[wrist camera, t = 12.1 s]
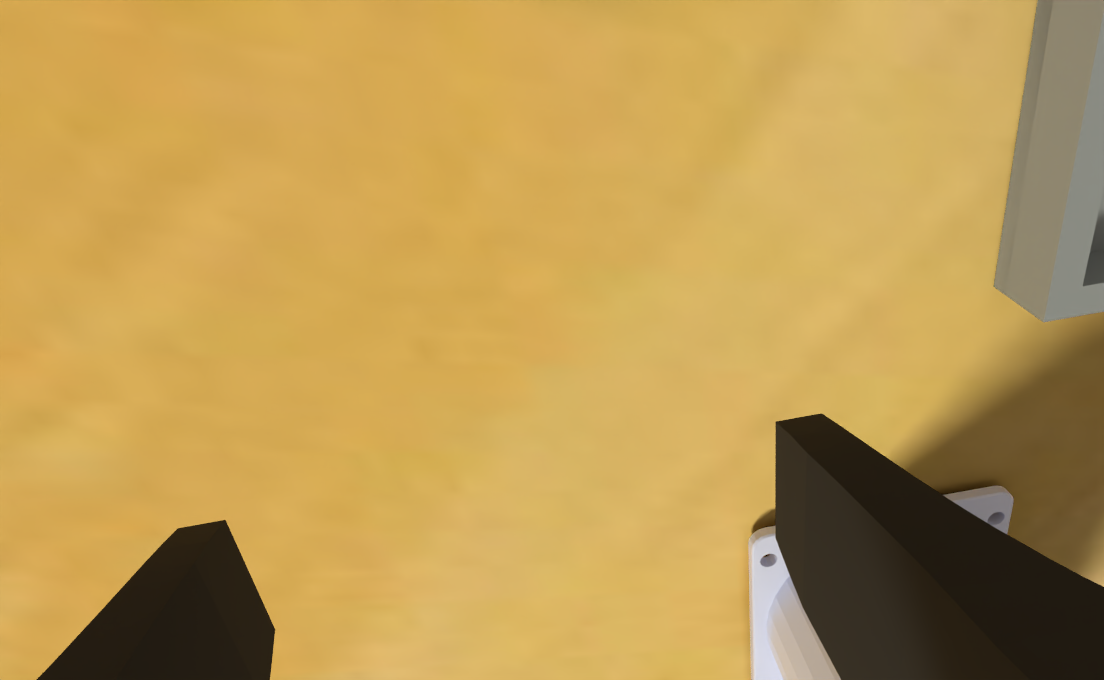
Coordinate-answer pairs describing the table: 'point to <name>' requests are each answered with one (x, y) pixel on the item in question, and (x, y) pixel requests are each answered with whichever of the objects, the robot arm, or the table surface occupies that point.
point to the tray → (1058, 169)
